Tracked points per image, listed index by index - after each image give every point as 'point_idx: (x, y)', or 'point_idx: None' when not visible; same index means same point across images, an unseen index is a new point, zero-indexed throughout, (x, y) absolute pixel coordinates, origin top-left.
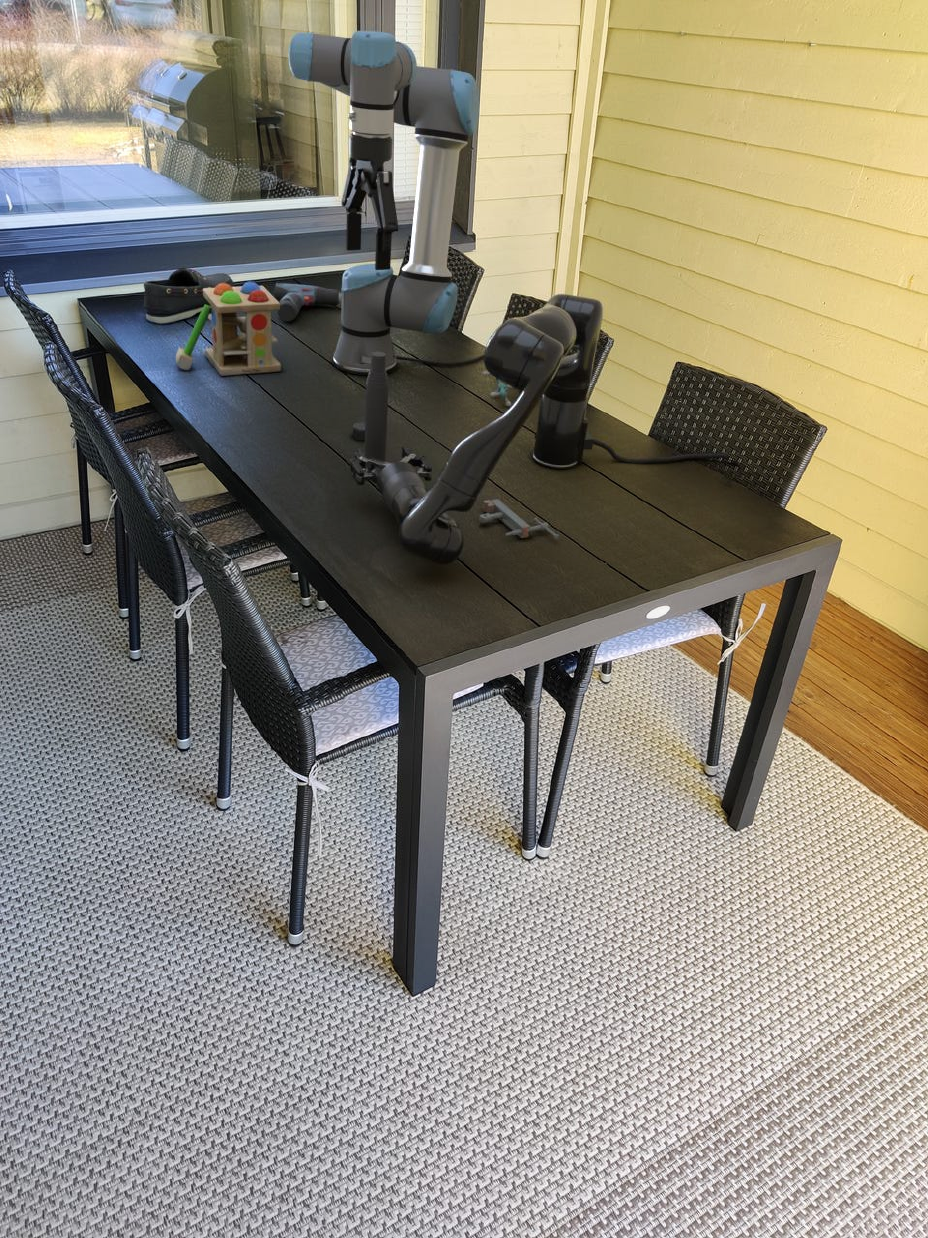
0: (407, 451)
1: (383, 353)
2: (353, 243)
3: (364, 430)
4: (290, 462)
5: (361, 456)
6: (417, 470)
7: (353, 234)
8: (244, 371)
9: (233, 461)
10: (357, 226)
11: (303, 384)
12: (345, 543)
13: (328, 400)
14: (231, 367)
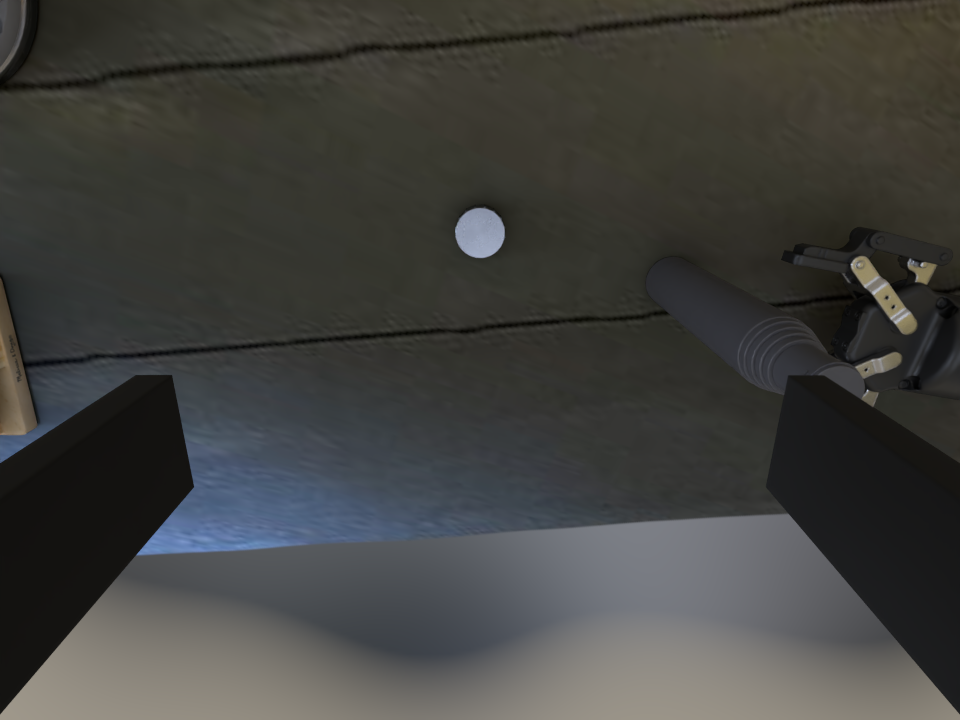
0: (830, 266)
1: (841, 373)
2: (158, 471)
3: (504, 237)
4: (552, 429)
5: None
6: (927, 285)
7: (105, 522)
8: (20, 374)
9: (508, 522)
10: (34, 538)
11: (101, 245)
12: None
13: (225, 220)
14: (11, 408)
